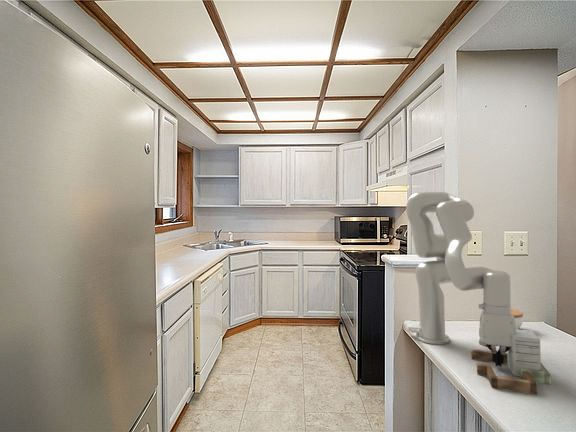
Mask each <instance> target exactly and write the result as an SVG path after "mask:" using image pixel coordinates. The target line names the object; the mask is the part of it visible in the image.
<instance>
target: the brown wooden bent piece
mask: <svg viewBox="0 0 576 432" xmlns="http://www.w3.org/2000/svg"><path fill="white" fill-rule="evenodd" d="M486 370H487V376H486V378H487V380H488V383H489V385H490V387H491V389H498V390H504V391H505V390H506V391H513V392H520V393H526V394H530V395H531V394H533V395H537V394H538V384H537V382H535V381H534V379H533V378H532V376H531V375H530V373H529V372H528V371H522V376H523V379H521V378H515V377H508V376H501V375H496V373H495V370H494V368H493V367H488V366H486Z"/></svg>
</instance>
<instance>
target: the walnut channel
mask: <svg viewBox="0 0 576 432" xmlns="http://www.w3.org/2000/svg"><path fill="white" fill-rule="evenodd" d="M470 354H471V355H470V356H471V357H470V358H471V360H475V361H482V362H483V361H484V362H491V361H492V351H491V350H483V349H474V348H471V349H470ZM492 362H493V361H492ZM492 362H491V363H492ZM493 363H494V362H493ZM503 364H508V352H506V353H505V354H504V363H503ZM486 366H488V367H492V364H486V363H478V362H477V363H476V374H477V375H478V374H479V376H485V375H486V377H487V370H486ZM492 368H493V367H492ZM522 371H528V372H529V373H530V375H531V376H532V378H533V379H534V381H535V382H536V383H539V384H544V385H545V384H546V385H551V383H552V381H551V380H552V379H551V377H552V376H551V373H550V371H549V370H548V369H547V368H546V367H545V365H543V363H542V362H541V371H537V370H529V369H521V377H520V379H523V376H522Z"/></svg>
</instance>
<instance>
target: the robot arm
mask: <svg viewBox="0 0 576 432" xmlns="http://www.w3.org/2000/svg"><path fill="white" fill-rule="evenodd" d="M405 210H406V212H405V213H406V216H407V218H408V223H409V225H410V229H411V235H412V240H413V245H414V249H415V250H414V251H415V253H416V256H418V257H419V258H422V259H431V258H436V260H429V261H423V262H421V263H419V264H418V265H417V266H416V268H415V277H416V282H417V288H418V311H419V312H418V314H419V315H418V316H419V324H418V325H416V326H412V325H408V327H407V328H408V330H407V331H410V332H411V333H416V334H415V337H416V339H417V340H419V342H423V343H427V344H431V345H445V344H448V343H449V342H450V341H451V339H450V335H448V334H446V314H445V311H446V309H445V294H444V292H443V290H442V288H441V285H443V284H450V283H452V284H453V286H454V287H455V288H456V289H458V290H460V291H463V292H467V291H468V292H469V291H475V290H483V291H482V292H483V295H482V296H483V302H482V303H481V304H480V303H479V304H478V309H481V312H480V318H479V319H480V320H479V325H478V326H479V328H478V329H479V330H478V331H479V332H478V334H479V340H478V344H479V346H481V347H485V348H487V349H488V351H492V361H493V364H494V365H495V367H501V368H502V365H503V364H505V363H504V354H505V353H508V352H507V351H508V350H510V347H512V345H511V335H517V330H516V323H515V318H514V315H513V314H511V309H512V308H511V307H512V306H511V302H512V301H511V299H512V298H511V276H510V274H509V273H508V272H505V271H502V270H494V269H491V268H488V267H484V266H474V267H466V266H465V264H464V262H463V258H462V251H463V249H464V247H465V245H467V244H468V243H470V241H472V240H473V235H472V233H471V230H470V229H469V228H470V227H469V226H468V223H467V222H470V221H471V220H472V219H473V218H474V215H475V210H474V208H473V205H472V204H471V203H470V202H469V201H467V200H465V199H463V198H461V197H459V196H458V197H457V196H456V195H453V194H450V193H448V192H444V191H420V192H415V193H414V194H412V195H411V196H409V198H408V199H407V202H406V206H405ZM427 213H435V214H436V217H437V220H438V223H439V226H440V228H441V230H442V234H441V233H437V234H436V233H435V231H434V230H435V229H434V225H433V222H432V220H431V219H430V217H429V216H428V215H427ZM496 346H497V347H498V350H497V349H496Z"/></svg>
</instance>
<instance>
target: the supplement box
mask: <svg viewBox="0 0 576 432" xmlns="http://www.w3.org/2000/svg"><path fill="white" fill-rule="evenodd" d="M516 330H517V335H511V345H512V347H510V350H508V351H507V352H506V353H508V363H507V367H508V368H509V369H510V371H511V372H512V374H513V375H512V376H515V377H519V376H521V369H529V370H537V371H541V363H542V361H541V359H542V357H541V356H542V355H541V338H540V337H539V336H538V335H537V334H536V333H535V332H534V331H533V330H528V329H516Z"/></svg>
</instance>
